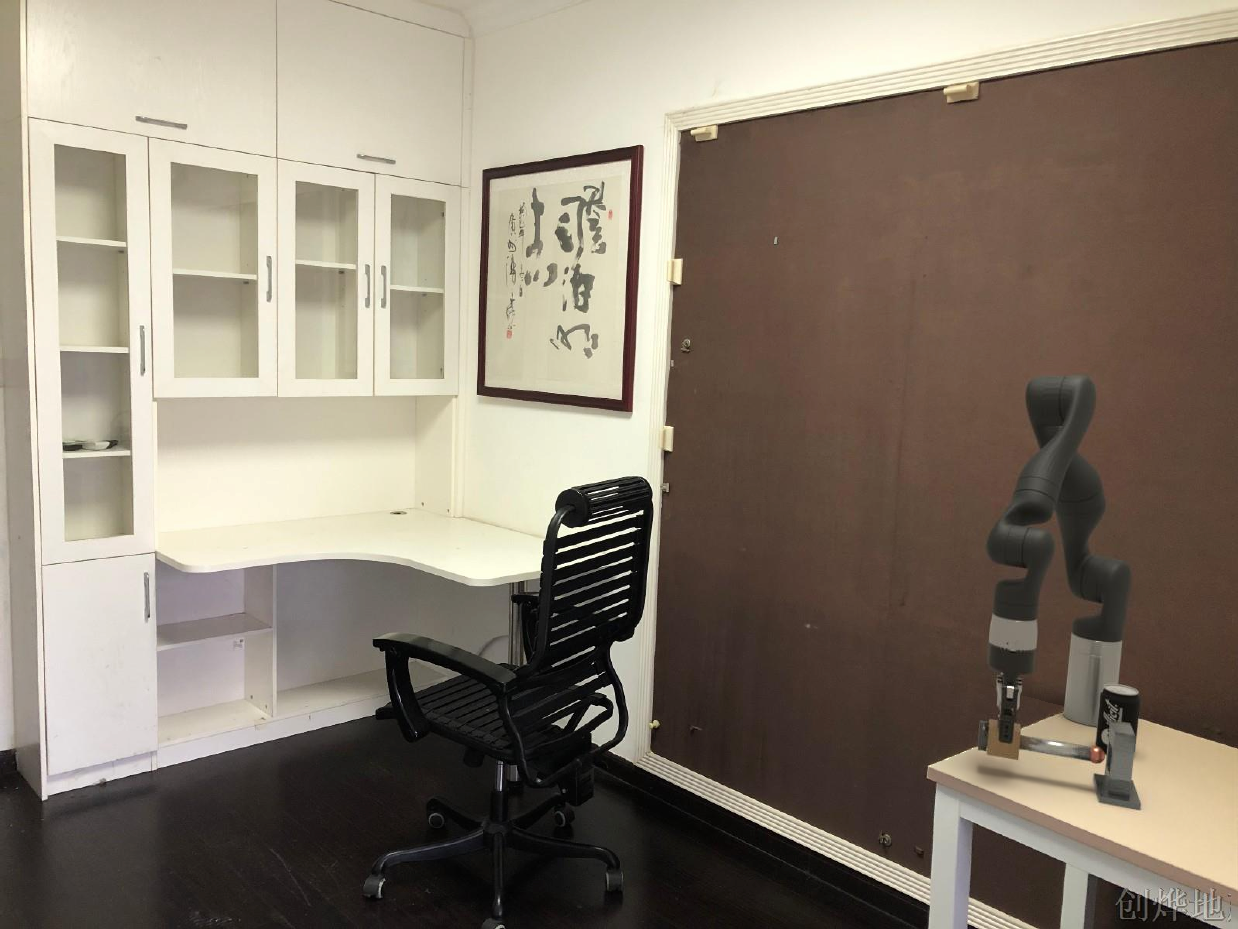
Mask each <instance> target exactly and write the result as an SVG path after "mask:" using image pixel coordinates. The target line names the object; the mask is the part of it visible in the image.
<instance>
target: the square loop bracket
mask: <svg viewBox="0 0 1238 929" xmlns="http://www.w3.org/2000/svg"><path fill="white" fill-rule="evenodd" d="M1135 740H1136V741H1137V738H1136V737H1135V734H1134V732H1133V729H1132V727H1131V724H1130V723H1125V722H1119V721H1112V720H1110V727H1109V737H1108V746H1107V754H1106V755H1105V759H1106V760H1105V767H1104V774H1100V773H1094V772H1093V777H1092V779H1093V780H1092V781H1093V785H1094V788H1095V792H1096V796H1097V799H1098V803H1102V804H1107V805H1112V806H1118V807H1122V808H1129V809H1135V810H1139V811H1140V810H1141V806H1142V802H1141V800H1140V797H1139V794H1138V791H1137V787H1136V785H1135V782H1134V780H1133V779H1132V777H1133V767H1134V758H1135V753H1134V750H1135V751H1136V747H1135Z"/></svg>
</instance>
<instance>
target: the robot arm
mask: <svg viewBox="0 0 1238 929" xmlns="http://www.w3.org/2000/svg"><path fill="white" fill-rule="evenodd" d="M1025 407H1026V412H1027V416H1028V420H1029V423H1030V425H1031V428H1032V431H1033V433H1034V437H1035V440H1036V442H1037V445H1038V448H1039V450H1038V451H1037V452H1036V453H1035V454H1034V455H1033V456H1032V457H1031V458H1030V459H1029V460H1028V461H1027V462H1026V464H1025V465H1024V466H1023V467H1022V469H1021V471H1020V472H1019V474H1018V477H1017V480H1016V484H1015V487H1014V490H1013V494H1012V496H1011V500H1010V502H1009V504H1008V505H1007V507H1005V510H1004V511H1003V512H1002V514H1001V516H1000V517H999V518H998V519H997V521H996V522H995V523H994V525H993V526H992V528H991V530H990V532H989V534H988V536H987V539H986V544H985V546H986V547H985V549H986V554H987V556H988V558H989V559H990V560H991V561H992V562H993V563H995V564H997V565H1000V566H1007V567H1013V568H1021V569H1027V572H1026V574H1025V576H1024V577H1022V578H1007V579H1000V580H999V581H997V582H996V584H995V585H994V594H993V604H992V616H991V621H990V625H989V636H988V646H987V647H988V649H987V657H986V658H987V661H986V663H987V666H988V667H989V668H990V669H992V670H994V671H996V672H1000V675H996V695H997V702H996V706H997V708H998V718H997V720H999V721H1000V726H999V741H1000V742H1002V743H1008V744H1011V743H1012V742H1013V731H1014V723H1017V721H1018V718H1017V711H1018V710H1019V708H1020V702H1021V699H1020V698H1021V693H1022V690H1023V682H1022V680H1023V679H1022V678H1018V677H1019V676H1021V675H1024V676H1025V675H1026V676H1027V675H1030V674H1032V673H1033V672H1034V671H1035V668H1036V666H1035V665H1036V655H1037V645H1038V634H1039V632H1038V613H1039V604H1040V603H1039V601H1040V595H1041V590H1042V586H1043V583H1044V580H1045V577H1046V574H1047V572H1048V569H1049V567H1050V566H1051V563H1052V560H1053V558H1054V555H1055V552H1056V542H1055V539H1054V535H1053V534H1052V533H1051V532H1050V531H1049V530H1047V529H1044V528H1040V527H1032V526H1033V525H1042V524H1045V523H1049V521H1051V519H1052V518H1053V516H1054V512H1055V516H1056V521H1057V524H1058V528H1059V529H1058V530H1059V532H1060V533H1059V534H1060V538H1061V542H1062V543H1061V544H1062V550H1063V560H1064V566H1065V568H1064V569H1065V574H1066V581H1067V585H1068V589H1069V591H1070V592H1071V594H1072V595H1073V596H1074V597H1075V598H1077V599H1080V600H1084V601H1087V602H1093V603H1097V604H1102V605H1101V610H1100V613H1097V614H1094V615H1083V616H1079V617H1076V618H1075V619H1073V621H1072V624H1071V625H1072V626H1071V636H1070V645H1069V646H1070V648H1069V657H1068V667H1067V676H1066V677H1067V678H1066V686H1065V687H1066V688H1065V696H1064V698H1065V699H1064V705H1063V706H1064V708H1063V716H1065V718H1066V719H1069V720H1070V721H1073V722H1075V723H1077V724H1083V725H1087V726H1093V727H1097V723H1098V713H1099V703H1100V693H1101V692H1102V690H1103V689H1104V685H1105V684H1119V678H1120V668H1121V667H1120V666H1121V657H1122V649H1123V648H1122V646H1123V637H1124V631H1125V628H1126V624H1127V618H1128V610H1129V605H1130V604H1129V603H1130V598H1131V593H1132V585H1133V570H1132V568H1131V566H1130V564H1129V563H1128V562H1127V561H1126V560H1125V561H1124V560H1120V559H1117V558H1115V559H1114V558H1111V557H1106V556H1105V557H1104V556H1099V555H1093V553H1092V552H1091V550H1090V546H1089V539H1090V538H1091V535H1092V533H1093V532H1094V531H1095V529H1096V528H1097V526H1098V525H1099V523H1100V522H1101V520H1102V519H1103V517H1104V516H1105V513H1106V508H1107V501H1106V495H1105V490H1104V485H1103V480H1102V477H1101V475H1100V472H1099V471H1098V470H1097V468H1096V467H1095V466H1094V465H1093V463H1091V462H1090V461H1089V460H1088V459H1087V458H1086V456H1084V455H1083V454H1082V453H1081V452H1080V451H1079V448H1080V445H1081V443H1082V442H1083V439H1084V436H1085V435H1086V433H1087V430H1088V429H1089V427H1090V424H1091V422H1092V420H1093V417H1094V415H1095V411H1096V407H1097V389H1096V386H1095V383H1094V381H1093V380H1092V378H1091V377H1089V376H1087V375H1084V374H1067V375H1066V374H1065V375H1063V374H1062V375H1061V374H1060V375H1043V376H1037V377H1034V378H1031V380H1029V382H1028V383H1027V386H1026V388H1025Z"/></svg>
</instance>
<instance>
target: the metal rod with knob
mask: <svg viewBox="0 0 1238 929" xmlns="http://www.w3.org/2000/svg"><path fill="white" fill-rule="evenodd" d="M999 726H1000V721H999V720H998V719H992V718H989V720H988V721H985V720H979V728H978V740H977V750H978V751H982V752H986V755H987V756H991V757H992V756H993V757H998V758H1003V759H1008V760H1015V761H1019V757H1020V750H1021V751H1027V752H1033V753H1039V754H1045V755H1049V756H1055V757H1056V756H1057V757H1062V758H1069V759H1073V760H1078V761H1079V760H1080V761H1086V762H1090V763H1092V764H1095V765H1097V764H1102V763H1103V762H1104V761H1105V759H1106V754H1105V753H1104V751H1103V750H1102V749H1101V748H1099V747H1097V746H1096V745H1093V746H1089V745H1083V744H1076V743H1071V742H1065V741H1059V740H1054V739H1053V740H1052V739H1047V738H1041V737H1035V736H1029V735H1023V734H1021V733H1022V731H1021V730H1022V727H1021V723H1017V722H1016V723H1014V731H1013V742H1012V743H1011V744H1008V743H1002V742H1000V741H999Z"/></svg>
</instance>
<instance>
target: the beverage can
mask: <svg viewBox="0 0 1238 929" xmlns="http://www.w3.org/2000/svg"><path fill="white" fill-rule="evenodd" d="M1140 708H1141V698H1140V696H1139V690H1137V688H1134V687H1133V686H1129V685H1124V684H1119V683H1118V684H1105V685H1104V689H1103V690H1102V692H1101V693H1100V703H1099V713H1098V723H1097V726H1096V734H1095V746H1097V747H1099V748H1101V749H1102V750H1103V751H1104V753H1105V755H1107V746H1108V737H1109V727H1110V720H1112V721H1119V722H1125V723H1130V724H1131V727H1132V729H1133V732H1134V734H1135V737H1136V740H1135V748H1136V746H1137V736H1138V727H1139V719H1140V718H1139V716H1140ZM1135 752H1136V749H1135V750H1134V754H1135Z"/></svg>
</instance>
